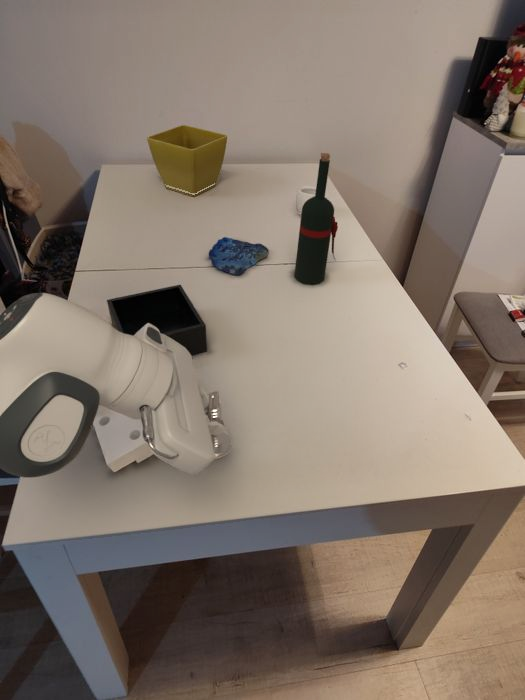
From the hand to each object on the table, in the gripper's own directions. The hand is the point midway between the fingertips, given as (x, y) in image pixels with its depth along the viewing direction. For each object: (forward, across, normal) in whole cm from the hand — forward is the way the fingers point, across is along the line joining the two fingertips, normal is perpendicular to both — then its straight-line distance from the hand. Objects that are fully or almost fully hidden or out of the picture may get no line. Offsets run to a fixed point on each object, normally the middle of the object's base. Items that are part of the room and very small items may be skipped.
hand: (218, 419), depth 62 cm
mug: (+40, +88, -25) cm, 100 cm away
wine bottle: (+32, +50, -17) cm, 62 cm away
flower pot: (+17, +114, -2) cm, 115 cm away
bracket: (-2, +10, +18) cm, 21 cm away
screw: (+5, 0, +6) cm, 7 cm away
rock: (+20, +63, -4) cm, 66 cm away
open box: (+4, +34, +12) cm, 36 cm away
